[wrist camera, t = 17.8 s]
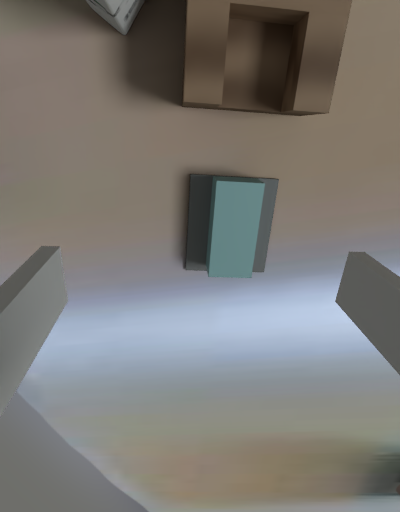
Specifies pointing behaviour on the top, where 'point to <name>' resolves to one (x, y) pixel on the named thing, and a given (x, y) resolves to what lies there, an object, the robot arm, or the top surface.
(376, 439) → the top surface
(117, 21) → the ink box
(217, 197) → the slab
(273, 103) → the block
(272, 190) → the mat
